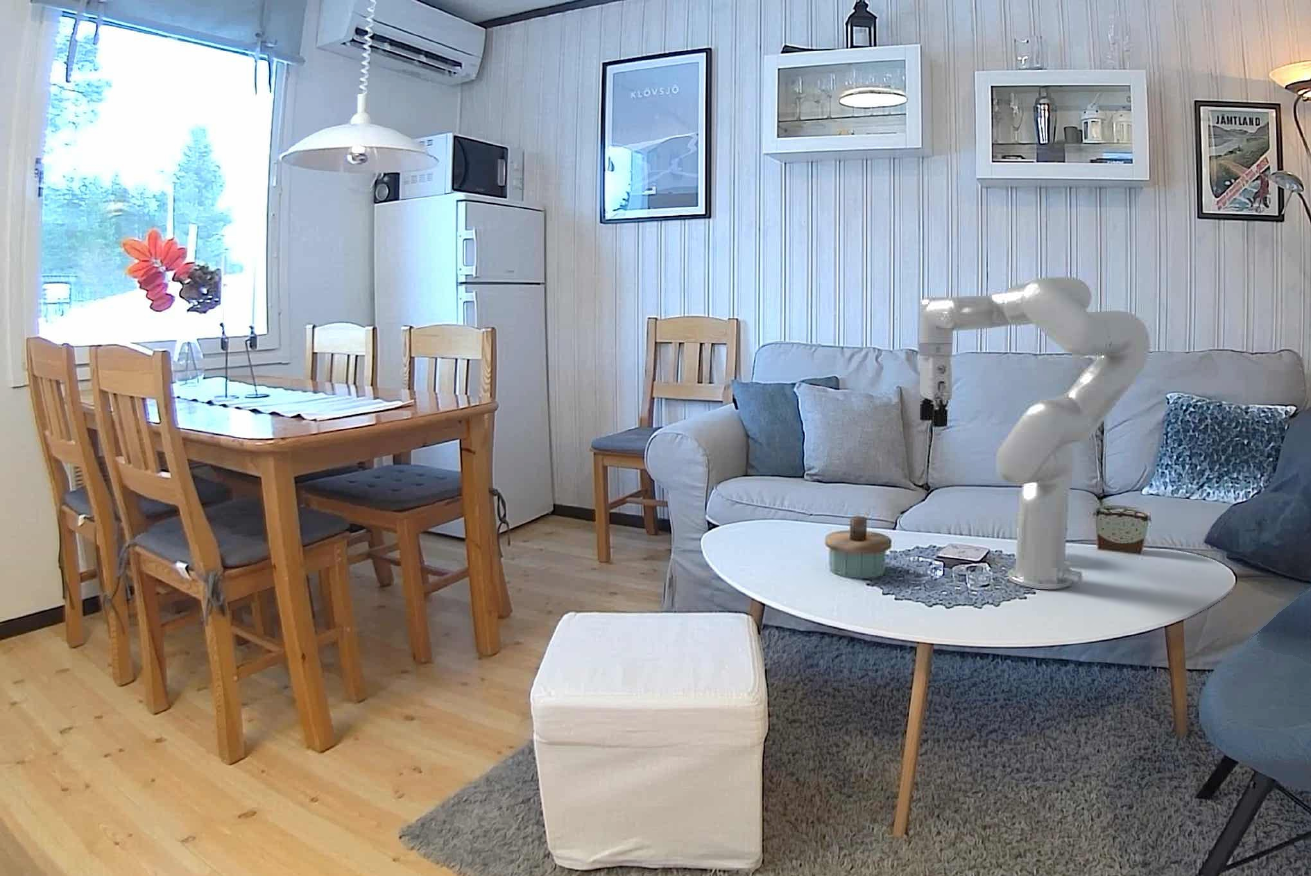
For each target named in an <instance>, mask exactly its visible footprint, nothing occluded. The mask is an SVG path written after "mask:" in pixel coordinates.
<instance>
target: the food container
mask: <svg viewBox="0 0 1311 876" xmlns="http://www.w3.org/2000/svg"><path fill="white" fill-rule="evenodd" d="M1094 516H1095V532H1096V549H1097V550H1098V551H1103V552H1111V553H1119V554H1127V555H1132V556H1133V555H1134V556H1143V552H1144V546H1145V540H1146V536H1147V530H1148V526H1149V522H1150V524H1152V516H1151V513H1150V512H1149V511H1148V510H1146V509H1142V508H1141V507H1140V508H1139V507H1135V506H1128V505H1119V504H1118V505H1114V504H1109V505H1108V504H1107V505H1100V506H1096V507H1095V509H1094V510H1093V514H1092V517H1094Z"/></svg>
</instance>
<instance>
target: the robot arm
mask: <svg viewBox="0 0 1311 876" xmlns="http://www.w3.org/2000/svg"><path fill="white" fill-rule="evenodd" d="M1091 302H1092V292H1091V289H1090V287H1089V285H1088V284H1087V283H1086V282H1085V281H1084V280H1082V279H1080V278H1077V277H1073V276H1057V277H1056V276H1054V277H1053V276H1051V277H1040V278H1036V279H1035V280H1032V281H1031V282H1028V283H1022V284H1021V283H1020V284H1015V285H1012V286H1010V287H1009V288H1008V289H1007V290H1006V292H1001V293H995V294H988V295H987V294H986V295H968V296H967V295H966V296H965V295H964V296H952V297H946V296H937V297H936V296H934V297H925V298H923V299H922V300H921V301H920V303H919V305H920V306H919V327H918V328H919V329H918V334H919V335H918V358H920V359H921V361H920V371H919V374H920V375H919V394H920V399H919V403H920V404H919V407H920V408H919V420H920V421H923V422H925V421H932V427H934V428H946V427H947V426H948V414H949V412H948V409H949V406H948V404H949V402H950V400H951V399H952V398H953V379H952V378H953V377H952V373H953V372H952V362H951V358H953V345H954V344H953V343H954V341H953V340H954V331H956V332H957V331H958V332H959V331H969V330H987V329H992V328H994V329H995V328H1000V327H1002V328H1003V327H1007V326H1016V327H1019V326H1026V325H1032V324H1034V325H1035V326H1036V327H1037V328H1038V329H1040V331H1042V332H1043V333H1044V334H1045V335H1047V337H1048V338H1050V339H1051V340H1052V341H1053V342H1054V343H1055V344H1057V345H1058V346H1059V347H1060V348H1061V349H1063V351H1065V352H1066V353H1068V354H1070V355H1073V356H1074V357H1078V358H1091V357H1093V358H1094V357H1098V358H1097V359H1096V360H1095V361H1094V362H1092V364H1090V365H1089V366H1088V367H1087V368H1086V369H1085V370H1084V371H1083V372H1082V373H1081V374H1080V376H1079V377H1078V378H1077V380H1076V381H1075V383H1074V384H1073V385H1072V386H1071V387H1070V388H1069V390H1068V391H1067V392H1065V394H1062V395H1060V396H1057V397H1056V396H1055V397H1051V398H1046V399H1042V400H1039V401H1037V402H1035V403H1034V404H1032V405H1031V406H1030V407H1029V408H1027V409H1026V411H1025V412H1024V413H1023V414H1022V415H1021V417H1020V419H1018V421H1017V423H1016V424H1015V425H1014V426H1013V428H1012V429H1011V430H1010V432H1009V433H1008V435H1007V436H1006V437H1005V439H1004V440H1003V442H1002V443H1001V445H1000V446H999V448H998V451H997V453H996V456H995V457H996V458H995V468H996V471H997V474H998V475H999V477H1000V478H1001V479H1002V480H1003V481H1004V482H1006V483H1008V484H1011V485H1014V486H1021V488H1020V489H1021V490H1020V493H1019V501H1018V515H1017V522H1018V534H1017V533H1016V538H1017V539H1016V540H1017V541H1016V557H1015V559H1016V560H1015V567H1013V568H1010V569H1009V570H1008V571H1007V578H1008V580H1009V581H1011V582H1012V583H1014V584H1017V585H1019V586H1022V587H1026V588H1029V589H1030V588H1031V589H1037V590H1038V589H1039V590H1040V589H1041V590H1060V589H1065V588H1068V587H1070V586H1071V585H1072V583H1077V584H1081V583H1082V582H1083V574H1082V573H1083V572H1082V571H1080V570H1074V569H1071V568H1070V563H1071V562H1069V561H1066V546H1067V544H1066V543H1067V533H1066V531H1067V532H1068V526H1067V525H1068V513H1069V497H1070V491H1071V490H1070V489H1071V483H1072V479H1073V475H1074V471H1075V468H1076V467H1075V466H1076V463H1077V461H1076V460H1077V458H1076V457H1077V456H1076V451H1075V449H1074V448H1075V447H1074V446H1073V445H1072V444H1076V443H1079V442H1080V443H1081V442H1083V441H1086V440H1088V439H1089V438H1090V437H1092V435H1094V433H1095V432H1096V431H1097V430H1098V428H1099V427H1100V426H1101V424H1102V423H1103V422H1104V421H1105V420H1106V418H1107V417H1108V415H1109V414H1110V413H1111V412H1112V410H1114V408H1115V407H1116V405H1117V404H1118V402H1119V401H1120V400H1121V398H1122V397H1123V396H1124V395H1125V393H1126V392H1127V391H1128V390H1129V388H1130V387H1131V386H1132V385H1133V384H1134V383H1135V382H1136V380H1137V379H1138V378H1139V377H1140V375H1141V373H1142V372H1143V370H1144V368H1145V366H1146V365H1147V362H1148V359H1149V357H1150V356H1149V355H1150V350H1151V343H1150V342H1151V341H1150V335H1149V332H1148V329H1147V327H1146V325H1145V324H1144V322H1143V320H1141V319H1140V317H1138V316H1136V315H1135V314H1133V313H1131V312H1128V311H1124V310H1123V311H1122V310H1104V311H1088V310H1087V309H1088V308H1089V307H1090V305H1091Z"/></svg>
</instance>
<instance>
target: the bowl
mask: <svg viewBox="0 0 1311 876" xmlns="http://www.w3.org/2000/svg"><path fill="white" fill-rule="evenodd" d="M828 553H829V554H828V555H829V557H828V558H829V559H828V560H829V561H828V562H829V563H828V564H829V565H828V566H829V571H830V572H831V573H832V574H834V575H836V576H839V577H843V578H846V579H847V578H848V579H859V580H863V579H864V580H865V579H874V578H875V579H876V578H879V577H882V576H883V575H885V572H886V566H887V565H886V563H887V559H886V558H887V557H886V556H887V550H886V551H884V552H879V553H872V554H854V553H845V552H840V551H836V550H833V549H831V548H829V551H828Z"/></svg>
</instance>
